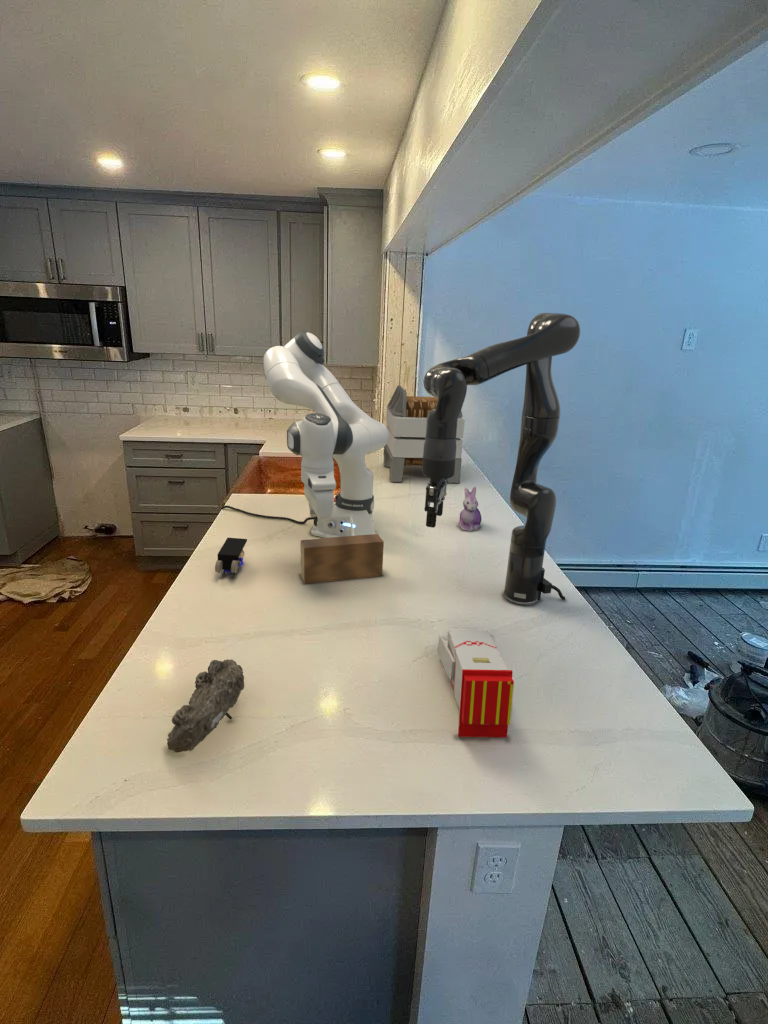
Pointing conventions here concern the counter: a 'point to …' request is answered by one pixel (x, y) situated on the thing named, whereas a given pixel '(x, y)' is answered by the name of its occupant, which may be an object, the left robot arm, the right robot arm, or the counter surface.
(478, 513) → the figurine
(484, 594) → the counter surface
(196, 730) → the fossil
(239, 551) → the black toy vehicle
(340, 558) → the box
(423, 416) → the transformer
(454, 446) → the right robot arm
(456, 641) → the toy
